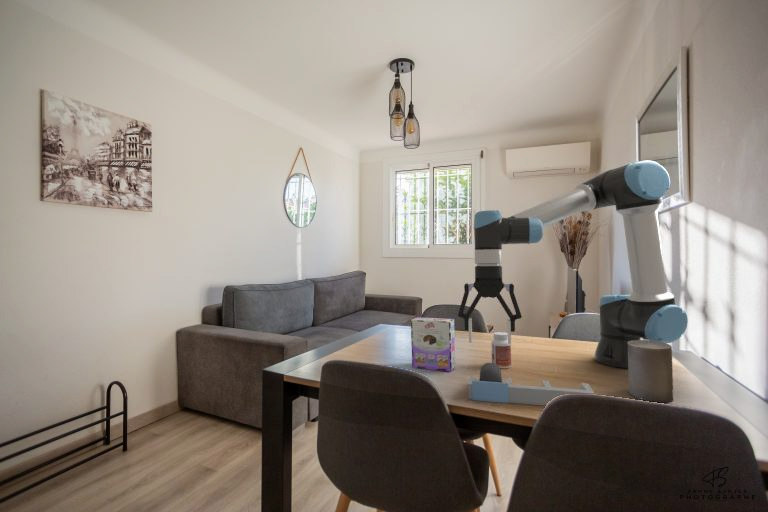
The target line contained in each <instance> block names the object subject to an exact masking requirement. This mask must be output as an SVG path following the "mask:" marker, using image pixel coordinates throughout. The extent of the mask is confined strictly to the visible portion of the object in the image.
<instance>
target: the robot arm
mask: <svg viewBox="0 0 768 512" xmlns="http://www.w3.org/2000/svg"><path fill="white" fill-rule="evenodd" d="M670 186H671V179H670V175H669V173H668V171H667V169H666V168H665V167H664V166H663V165H661V164H660V163H658V162H656V161H654V160H650V159H649V160H641V161H635V162H632V163H628V164H625V165H623V166H619V167H617V168H616V167H615V168H612V169H609V170H606V171H603V172H602V173H600V174H599V175H596V176H594V177H593V178H590V179H589V180H587V181H585V182H582V183H581V184H578V185H576V186H575V188H574V189H573V190H571V191H569V192H566V193H564V194H561V195H558V196H556V197H554V198H552V199H550V200H549V199H548V200H547V201H545V202H542V203H540V204H537V205H535V206H533V207H530V208H528V209H525V210H523V211H520V212H518V213H515V214H513V215H511V216H509V217H503V216H502V213H501V211H500V210H490V209H489V210H480V211H477V212H475V214H474V218H473V230H474V231H473V232H474V234H473V236H474V264H475V265H476V266H474V282H473V283H468V282H465V283H464V285H463V287H464V292H463V297H462V300H461V303H460V306H459V310H458V314H457V316H458V317H459V318H462V319H463V320H464V331H468V343H472V342H473V324H472V323H473V321H472V320H473V318H472V317H470V316H471V315H472V313H473V312H474V309H475V308H476V306H477V305H478V303H479V302H480V299H482V298H485V299H486V298H491V299H494V298H496V299H497V300H498V302H499V304H500V305H501V307H502V309H504V311H505V313H506V315H507V316H508V319H506V320H507V333H508V338H507V339H508V344H511V345H512V332H513V333H514V332H515V331H516V321H517V320H521V318H522V317H523V316H522V312H521V310H520V307H519V305H518V304H519V303H518V302H517V298H516V295H515V285H514V284H513V283H504V281H503V266H502V265H501V264H502V263H503V251H502V249H503V247H502V246H503V245H517V244H518V245H521V244H526V245H530V244H537V243H539V242H540V241H542V239H543V236H544V228H546V227H548V226H550V225H553V224H556V223H558V222H560V221H562V220H565V219H567V218H569V217H573V216H574V215H577V214H578V213H581V212H593V211H595V210H596V209H597V210H598V209H600V208H605V207H612V206H615V209H616V212H617V213H618V214H620V215H621V216H622V219H623V227H624V236H625V243H626V249H627V257H628V258H627V259H628V265H629V272H630V280H631V288H632V291H631V294H609V295H602V296H601V297H600V300H599V305H598V308H599V329H600V330H599V331H600V335H599V340H598V343H597V346H596V348H595V352H594V360H595V361H596V362H597V363H600V364H602V365H606V366H610V367H615V368H622V369H628V342H629V341H632V340H633V341H634V340H641V339H642V340H648V341H649V339H650V341H658V342H663V343H667V344H671V343H674V342H676V341H678V340H679V339H680V338H681V337H682V335H683V334H685V332H686V331H687V328H688V323H689V322H688V320H689V319H688V315H687V313H686V311H685V310H684V309H683V308H682V307H680V306H679V305H677V304H676V301H675V296H674V294H673V293H671V292H669V290H668V288H667V287H668V286H667V280H666V273H665V264H664V257H663V250H662V241H661V233H660V232H661V231H660V225H659V217H658V210H659V209H660V208H661V206H662V205H663V197H664V196H665V195H666V194H667V193H668V190H669V189H670ZM473 288H474V289H475V291H477V294H476V296H475V298H474V300H473V301H472V303H471V305H470V306H469V308H468V309H467V310H466V313H465V312H464V311H465V308H466V305H467V302H468V301H467V300H468V297H469V294H470V292H471V291H472V289H473ZM504 288H505V290H506V292H508V293H509V297H510V300H511V303H512V306H513V309H514V312H515V313H513V312H512V311H511V309H510V307H509V305H508V304H507V302H506V301H505V299H504V298H503V296H502V294H501V291H502V290H503V289H504Z"/></svg>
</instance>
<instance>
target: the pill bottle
mask: <svg viewBox="0 0 768 512" xmlns="http://www.w3.org/2000/svg"><path fill="white" fill-rule="evenodd" d="M511 345H512V343H511V344H508V332H505V331H504V332H502V331H496V332H493V339H492V340H491V363H494V364H496V365H497V366H498V367H499V368H500V369H504V370H505V369H509V368H511V367H512V352H511V351H512V350H511V349H512V348H511Z"/></svg>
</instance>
